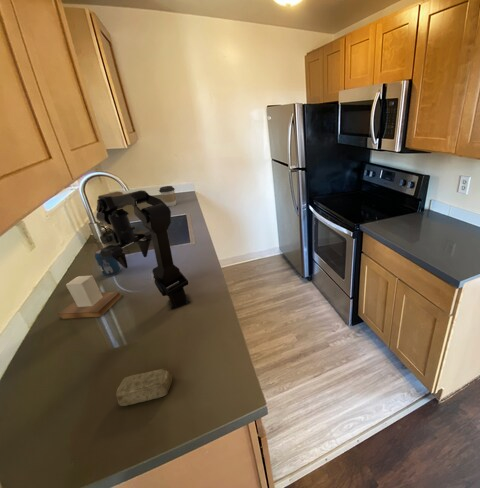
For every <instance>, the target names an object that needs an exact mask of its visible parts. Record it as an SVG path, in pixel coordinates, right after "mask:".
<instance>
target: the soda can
mask: <svg viewBox="0 0 480 488" xmlns="http://www.w3.org/2000/svg"><path fill="white" fill-rule="evenodd" d="M103 248H104V247H103ZM103 248H102V247H101V248H99V249H97V250H95V251H94V259H95V260H96V263H97V265H98V267H99V269H100V272H101V273H102V275H103V276H105V277H112V276H115V275H117V274H119V273H120V272H121V265H120V263H119V262H118V261H117V260H115V259H114V258H112V257H102V255H101V253H100V251H101V249H103Z"/></svg>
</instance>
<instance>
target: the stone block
mask: <svg viewBox="0 0 480 488" xmlns="http://www.w3.org/2000/svg"><path fill="white" fill-rule="evenodd" d="M171 373H172V372H171V371H170V369H168V368H164V367H163V368H159V369H153V370H150V371H146V372H142V373H134V374H131V375H127V376H125V377H124V378H123V379H122V380H121V382H120V384H119V386H118V387H117V390H116V392H115V396H116V399H117V403H118V406H120V407H126V406H130V405H135V404H139V403H143V402H149V401H152V400H156V399H160V398H162V397H165V396H166V395H168V393H169V390H170V387H171V386H172V382H173V375H172V374H171Z"/></svg>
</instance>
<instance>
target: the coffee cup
mask: <svg viewBox="0 0 480 488" xmlns="http://www.w3.org/2000/svg"><path fill="white" fill-rule="evenodd" d="M175 189H176V188H175V187H173V185H166V186H161V187H160V188H159V189H158V191H159V193H160V194H161V197H162V199H163V202H164V203H165V204H166V205H167V206H168V207H174V206H176V205H177V200H176V192H175Z"/></svg>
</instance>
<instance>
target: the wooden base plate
mask: <svg viewBox="0 0 480 488" xmlns="http://www.w3.org/2000/svg"><path fill="white" fill-rule="evenodd" d="M101 294H102V296H103V298H101V299H100V300H99V301H98V302H97V303H96V304H95V305H93V306H86V307H78V306H77V304H76V303H75V301H74V300H73V301H72V302H71V303H70V304H68V305H67V306H66V307H65V308H63V309H62V310H61V311H60V312H58V315H59V317H60V318H61V319H62V320H66V319H80V318H81V319H83V318H98V317H102V316H103V315H104V314H105V313H107V311H108V310H109V309H110V308H112V307H113V306H114V305H115V304H116V302H118V301H119V300H120V299H121V298H122V295H121V291H106V292H105V291H104V292H103V291H102V292H101Z"/></svg>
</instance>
